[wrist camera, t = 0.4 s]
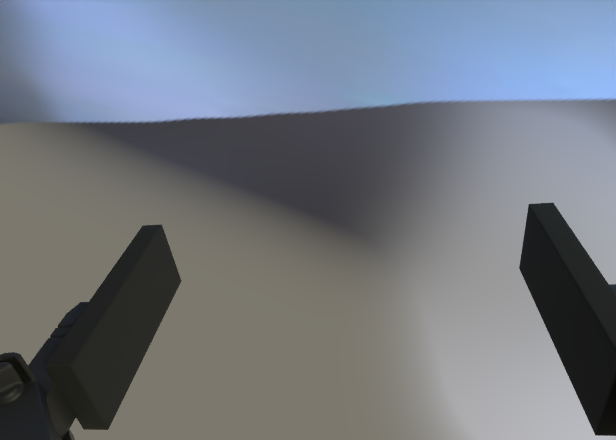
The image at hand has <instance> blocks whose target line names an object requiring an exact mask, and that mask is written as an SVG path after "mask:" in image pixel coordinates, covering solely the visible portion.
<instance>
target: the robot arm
mask: <svg viewBox="0 0 616 440" xmlns="http://www.w3.org/2000/svg"><path fill="white" fill-rule="evenodd" d="M520 271H521V273H522V275H523V277H524V280H525V282H526V284H527V286H528V288H529V290H530V293H531V295H532V297H533V299H534V301H535V304H536V306H537V308H538V310H539V312H540V314H541V317H542V319H543V321H544V323H545V325H546V328H547V330H548V332H549V334H550V337H551V339H552V341H553V343H554V345H555V347H556V349H557V352H558V354H559V356H560V358H561V361H562V363H563V365H564V367H565V369H566V372H567V374H568V376H569V378H570V380H571V382H572V385H573V387H574V389H575V391H576V394H577V396H578V398H579V400H580V402H581V404H582V407H583V409H584V411H585V413H586V415H587V417H588V420H589V422H590V424H591V426H592V428H593V431H594V433H595V435H610V436H611V435H613V436H616V285H609V284H608V283H607V281H606V280H605V278H604V277H603V276H602V274H601V273H600V271H599V270H598V268H597V267H596V265H595V264H594V262H593V261H592V259H591V258H590V256H589V255H588V253H587V252H586V251H585V249H584V248H583V246H582V245H581V243H580V242H579V241H578V239H577V237H576V236H575V234H574V233H573V231H572V230H571V228H570V227H569V226H568V224H567V223H566V221H565V220H564V218H563V217H562V215H561V214H560V212H559V211H558V209H557V208H556V206H555V205H554V203H541V204H529V207H528V214H527V221H526V227H525V234H524V241H523V248H522V254H521V261H520ZM180 282H181V279H180V276H179V273H178V270H177V267H176V264H175V261H174V259H173V256H172V253H171V250H170V247H169V244H168V241H167V238H166V235H165V233H164V230H163V227H162V225H147V226H142V228H141V229H140V231H139V232H138V233H137V235H136V236H135V237H134V239H133V240H132V242H131V243H130V245H129V246H128V247H127V249H126V250H125V252H124V253H123V255H122V256H121V257H120V259H119V260H118V262H117V263H116V264H115V266H114V267H113V269H112V270H111V272H110V273H109V274H108V276H107V277H106V279H105V280H104V282H103V283H102V284H101V286H100V287H99V289H98V290H97V291H96V293H95V294H94V296H93V297H92V298H91V300H90V301H89V302H80V303H79V304H78V305H77V306H76V307H74V308H73V309H72V310H71V311H70V312H68V313H67V314H66V315H65V317H64V318H63V319H62V321H61V322H60V323H59V325H58V328H56V329H55V330H54V332H53V333H52V334H51V337H50V338H49V339H48V340H47V341H46V342H45V344H44V345H43V347H42V348H41V349H40V350H39V352H38V353H37V354H36V356H35V357H34V359H33V360H32V361H31V363H30V364H29V365H27V364H26V362H25V361H24V359H23V358H22V356H21V355H20V354H18V353H14V352H13V353H4V354H1V355H0V440H75V439H74V436H73V434H72V433H71V431H70V429H69V428H70V427H71V425H72V423H73V421H74V419H75V418H77V419H78V421H79V422H80V424H81V426H82V427H83V429H98V430H108V429H109V427H110V425H111V423H112V421H113V419H114V417H115V414H116V412H117V411H118V408H119V406H120V404H121V402H122V400H123V398H124V396H125V394H126V392H127V390H128V388H129V386H130V384H131V382H132V380H133V378H134V376H135V374H136V372H137V370H138V368H139V366H140V364H141V362H142V360H143V357H144V356H145V354H146V352H147V349H148V347H149V345H150V343H151V341H152V339H153V337H154V335H155V333H156V331H157V329H158V327H159V325H160V323H161V321H162V319H163V317H164V315H165V313H166V311H167V309H168V307H169V305H170V303H171V301H172V299H173V297H174V295H175V293H176V290H177V289H178V287H179V285H180Z"/></svg>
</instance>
